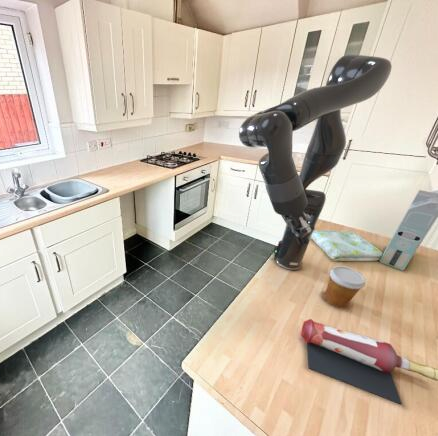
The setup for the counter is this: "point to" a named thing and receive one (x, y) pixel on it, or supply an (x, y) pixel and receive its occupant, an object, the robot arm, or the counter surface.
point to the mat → (352, 372)
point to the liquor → (362, 349)
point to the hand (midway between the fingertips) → (303, 243)
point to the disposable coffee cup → (343, 285)
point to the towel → (346, 246)
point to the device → (411, 230)
